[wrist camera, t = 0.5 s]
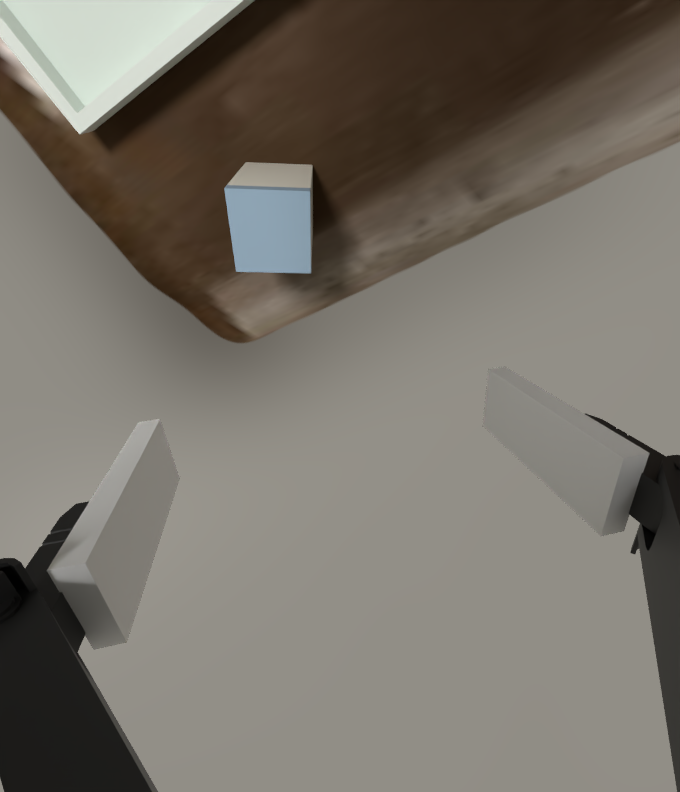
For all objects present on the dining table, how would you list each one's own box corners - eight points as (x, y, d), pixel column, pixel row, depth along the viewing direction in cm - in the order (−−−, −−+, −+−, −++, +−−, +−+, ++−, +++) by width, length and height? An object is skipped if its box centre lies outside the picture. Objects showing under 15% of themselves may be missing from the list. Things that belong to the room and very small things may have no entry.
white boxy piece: (245, 162, 34) (224, 188, 26) (312, 164, 34) (310, 191, 27) (253, 231, 38) (236, 271, 30) (313, 233, 38) (311, 273, 31)
